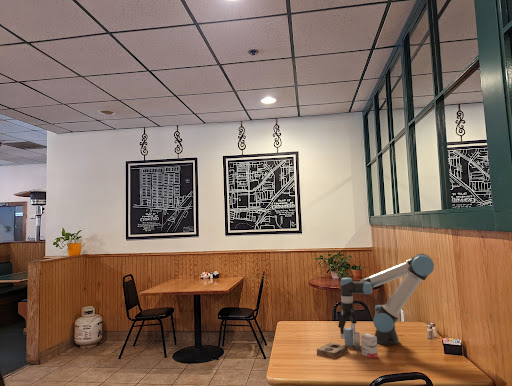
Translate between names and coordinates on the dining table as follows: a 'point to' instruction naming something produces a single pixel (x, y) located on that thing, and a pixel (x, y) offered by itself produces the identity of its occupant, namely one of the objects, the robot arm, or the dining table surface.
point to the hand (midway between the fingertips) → (348, 336)
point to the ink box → (369, 345)
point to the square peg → (349, 337)
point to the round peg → (356, 340)
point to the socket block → (332, 350)
